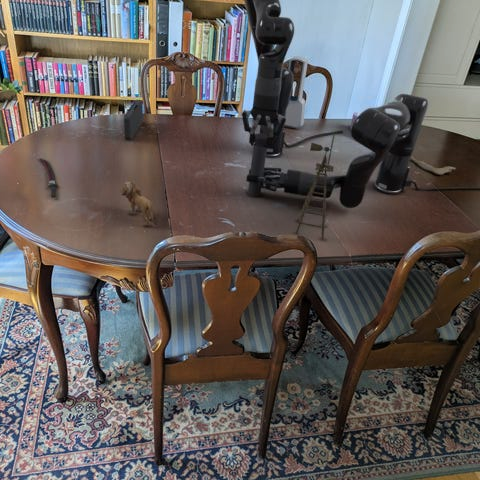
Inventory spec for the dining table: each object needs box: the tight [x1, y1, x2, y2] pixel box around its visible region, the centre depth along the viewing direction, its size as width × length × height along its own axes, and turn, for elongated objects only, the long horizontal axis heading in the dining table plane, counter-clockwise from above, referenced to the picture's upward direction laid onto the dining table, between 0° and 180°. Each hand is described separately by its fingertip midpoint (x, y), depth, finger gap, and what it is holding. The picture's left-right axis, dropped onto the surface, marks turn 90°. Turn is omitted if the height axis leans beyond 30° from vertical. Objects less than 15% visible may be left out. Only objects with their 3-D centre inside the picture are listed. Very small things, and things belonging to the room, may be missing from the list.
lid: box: [254, 133, 269, 145], centre depth 145 cm, size 5×5×2 cm
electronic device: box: [284, 55, 309, 130], centre depth 208 cm, size 12×8×30 cm, turn 71°
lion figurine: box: [119, 181, 159, 227], centre depth 134 cm, size 15×5×9 cm, turn 50°
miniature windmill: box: [294, 133, 335, 240], centre depth 130 cm, size 9×8×30 cm
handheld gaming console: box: [123, 99, 144, 141], centre depth 190 cm, size 23×3×10 cm, turn 178°
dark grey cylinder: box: [247, 143, 267, 198], centre depth 150 cm, size 4×4×19 cm
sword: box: [40, 158, 59, 198], centre depth 151 cm, size 31×3×1 cm, turn 26°
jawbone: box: [410, 155, 457, 176], centre depth 188 cm, size 9×20×2 cm, turn 50°
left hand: (260, 145), depth 146 cm, fingers closed on lid, 4 cm apart
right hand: (248, 174), depth 152 cm, fingers closed on dark grey cylinder, 4 cm apart
